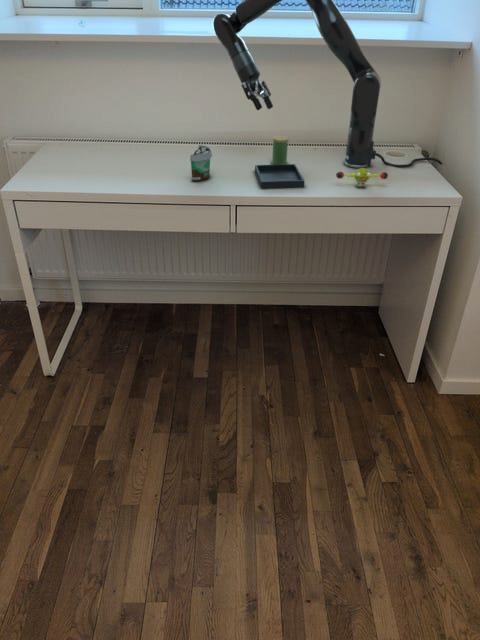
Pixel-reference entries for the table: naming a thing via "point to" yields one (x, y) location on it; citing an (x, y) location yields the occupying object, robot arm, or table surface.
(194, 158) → the food container
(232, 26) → the robot arm
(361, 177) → the toy figure
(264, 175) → the dark grey shallow tray
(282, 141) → the green cup
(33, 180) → the table surface
